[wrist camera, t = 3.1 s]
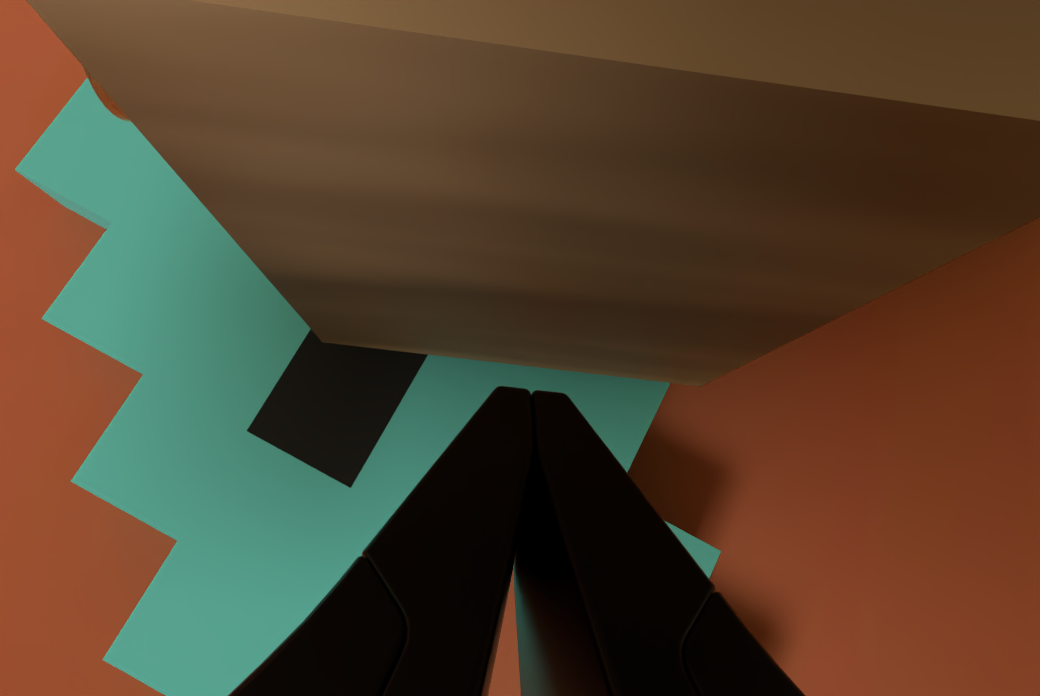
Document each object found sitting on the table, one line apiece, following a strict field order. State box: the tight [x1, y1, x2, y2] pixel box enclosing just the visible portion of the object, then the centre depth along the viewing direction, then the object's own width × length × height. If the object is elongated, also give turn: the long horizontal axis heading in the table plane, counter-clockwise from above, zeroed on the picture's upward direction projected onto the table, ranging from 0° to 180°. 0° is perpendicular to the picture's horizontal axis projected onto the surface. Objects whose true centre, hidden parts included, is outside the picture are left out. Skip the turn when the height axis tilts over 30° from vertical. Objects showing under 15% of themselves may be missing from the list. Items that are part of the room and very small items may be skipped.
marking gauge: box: [26, 0, 1040, 386], centre depth 9 cm, size 8×8×9 cm
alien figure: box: [15, 77, 1039, 696], centre depth 15 cm, size 20×2×20 cm
